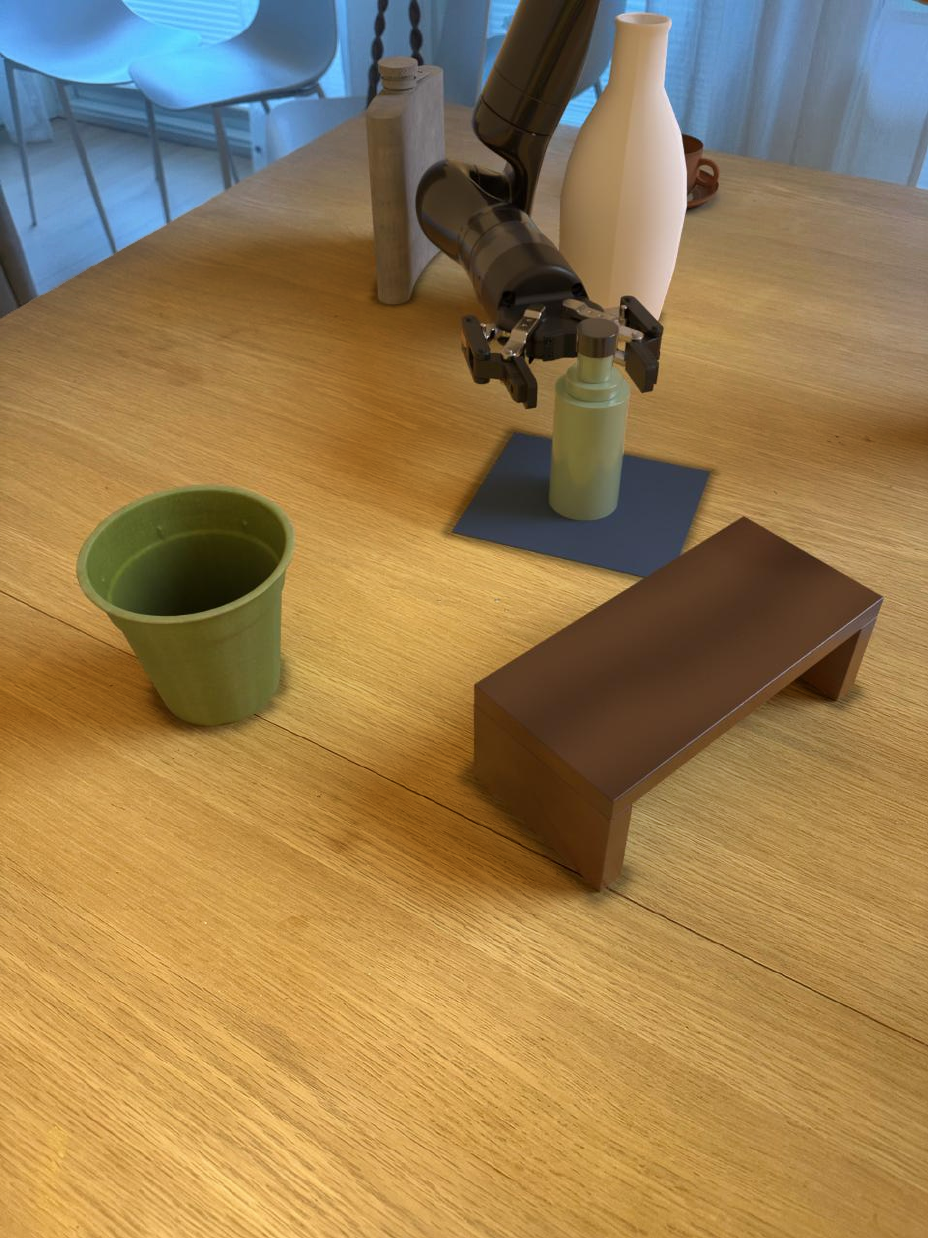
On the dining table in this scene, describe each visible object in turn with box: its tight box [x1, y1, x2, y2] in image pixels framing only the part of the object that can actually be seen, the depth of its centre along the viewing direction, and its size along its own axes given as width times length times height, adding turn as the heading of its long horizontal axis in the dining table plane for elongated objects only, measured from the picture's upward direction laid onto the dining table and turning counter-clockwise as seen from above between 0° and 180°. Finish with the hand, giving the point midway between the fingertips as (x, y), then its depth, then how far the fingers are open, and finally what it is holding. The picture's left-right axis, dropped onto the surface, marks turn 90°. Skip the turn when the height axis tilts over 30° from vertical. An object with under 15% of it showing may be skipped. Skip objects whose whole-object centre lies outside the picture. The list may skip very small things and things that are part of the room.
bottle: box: [558, 11, 688, 322], centre depth 92 cm, size 11×11×25 cm
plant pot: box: [75, 484, 296, 727], centre depth 62 cm, size 12×12×11 cm
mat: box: [451, 431, 711, 579], centre depth 79 cm, size 16×14×1 cm
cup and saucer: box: [681, 133, 720, 210], centre depth 120 cm, size 12×12×6 cm
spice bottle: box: [548, 318, 632, 521], centre depth 74 cm, size 5×5×14 cm
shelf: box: [473, 515, 885, 893], centre depth 60 cm, size 10×22×8 cm, turn 130°
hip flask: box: [365, 55, 446, 305], centre depth 101 cm, size 16×4×20 cm, turn 165°
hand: (592, 388), depth 73 cm, fingers open, 8 cm apart
